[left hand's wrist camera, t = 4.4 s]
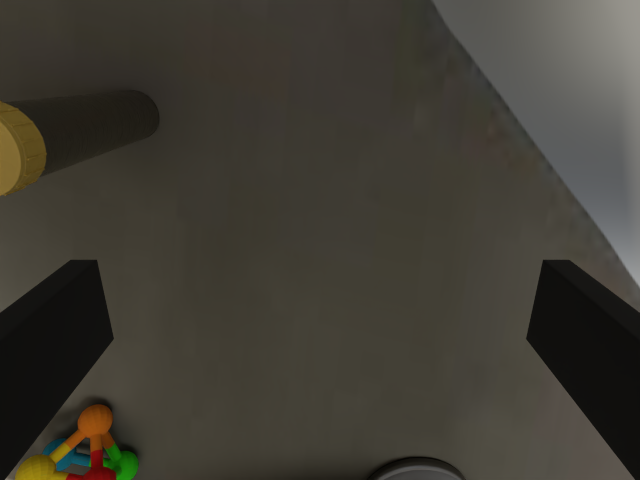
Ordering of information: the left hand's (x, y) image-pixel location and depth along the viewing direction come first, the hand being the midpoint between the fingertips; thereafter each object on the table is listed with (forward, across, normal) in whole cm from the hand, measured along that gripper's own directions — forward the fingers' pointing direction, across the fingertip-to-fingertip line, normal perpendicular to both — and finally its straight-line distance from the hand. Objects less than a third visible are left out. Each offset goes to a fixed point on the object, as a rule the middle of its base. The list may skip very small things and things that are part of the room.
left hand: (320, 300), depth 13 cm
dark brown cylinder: (+31, +18, -3) cm, 35 cm away
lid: (+11, +18, -3) cm, 21 cm away
